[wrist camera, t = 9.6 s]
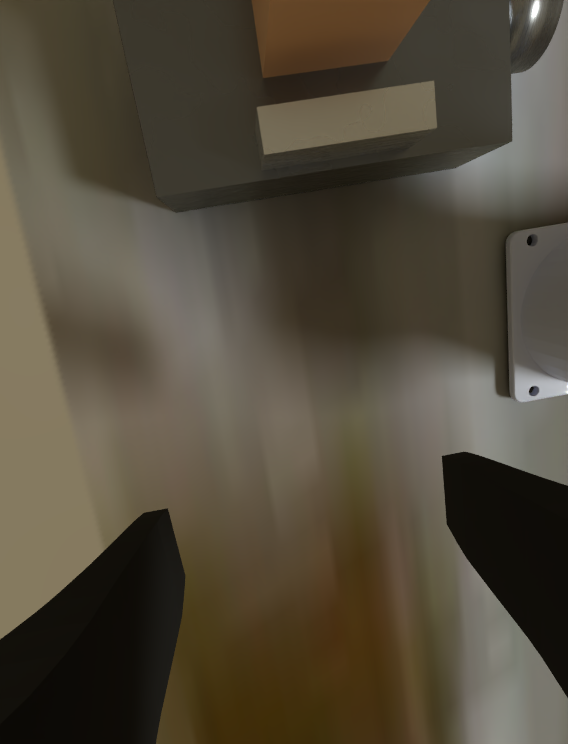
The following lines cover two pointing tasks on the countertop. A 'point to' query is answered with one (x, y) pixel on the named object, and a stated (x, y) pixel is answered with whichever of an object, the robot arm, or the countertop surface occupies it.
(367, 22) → the tan single stud brick
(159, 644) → the robot arm
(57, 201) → the countertop surface
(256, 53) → the grey plate with rails
